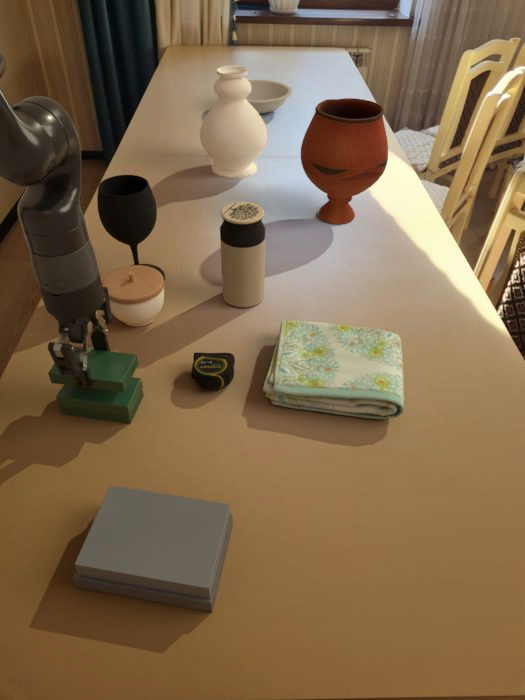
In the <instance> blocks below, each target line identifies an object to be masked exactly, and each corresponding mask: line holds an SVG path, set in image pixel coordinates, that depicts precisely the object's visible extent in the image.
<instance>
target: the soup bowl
mask: <svg viewBox="0 0 525 700" xmlns="http://www.w3.org/2000/svg"><path fill="white" fill-rule="evenodd" d="M247 80H248V81H249V82H250V84H251V92H250V93H249V95H248V96H247V97H246V98H245V99H246V100H247V101H248V102H249V103H250V104H251V105H252V106H253V107H254V108H255V109H256V111H257V112H258V113H259V114H266V113H271V112H273V111H275V110H277V109H278V108H280V107H281V106H282V105H283V104H284V103H285V101H286V100H287V99H288V98H289V97H291V96H292V94H293V88H291V87H290V86H289V85H288V84H285V83H282V82H279V81H274V80H268V79H247Z"/></svg>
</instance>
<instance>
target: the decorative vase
mask: <svg viewBox="0 0 525 700" xmlns="http://www.w3.org/2000/svg"><path fill="white" fill-rule="evenodd" d="M216 74H217V76H219V77H218V78H217V79H216V80H215V82H214V84H213V91H214V93H215V94H216V96H217V97H218V98H219V100H218V101H217V102H216V103H214V105H213V106H212V107H211V108H210V109H209V111H208V112H207V114H206V115H205V117H204V119H203V120H202V123H201V126H200V130H199V140H200V143H201V146H202V148H203V150H205V152H206V153H207V154H208V156H209V157H210V158H211V159H212V160H213V161H214V162H213V163H212V164H211V172H212V173H213V174H215V175H216V176H218V177H222V178H225V179H243V178H248V177H250V176H252V175H254V174H255V173H257V171H258V165H257V163H256V162H255V160H256V159H257V158H258V156H259V155H260V154H261V153H262V152H263V150H264V149H265V147H266V144H267V142H268V128H267V126H266V123H265V121H264V119H263V118H262V116H261V114H260V113H258V112H257V111H256V109H255V108H254V107H253V106H252V105H251V104H250V103H249V102H248V101H247V100H246V99H245V98H246V97H247V96H248V95H249V93H250V92H251V84H250V82H249V81H248V80H249V79H247V78H246V77H245V76H247V75H248V68H246V67H244V66H241V65H224V66H220V67H218V68H216Z"/></svg>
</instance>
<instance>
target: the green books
mask: <svg viewBox="0 0 525 700" xmlns="http://www.w3.org/2000/svg"><path fill="white" fill-rule="evenodd" d="M143 384H144V383H143V379H142V378H141V377H133V376H132V378H131V380H130V382H129V384H128V386H127V388H126V390H125V392H116V391H108V390H101V389H93V388H84V387H77V386H70V385H63V384H62V387H61V389H60V390H59V391H58V393H57V394H56V396H55V398H56V400H57V404H58V409H59V411H60V414H61V415H65V416H71V417H79V418H85V419H93V420H98V421H99V420H100V421H106V422H112V423H113V422H114V423H118V424H119V423H121V424H128V425H131V424H132V422H133V420H134V418H135V415H136V414H137V412H138V410H139V407H140V404H141V403H142V401H143V398H144V396H145V394H144V385H143Z"/></svg>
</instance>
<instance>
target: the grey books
mask: <svg viewBox="0 0 525 700" xmlns="http://www.w3.org/2000/svg"><path fill="white" fill-rule="evenodd" d="M233 517H234V516H233V514H232V513H231V504H230V503H226V502H225V503H224V502H218V501H212V500H206V499H200V498H193V497H187V496H182V495H181V496H180V495H174V494H167V493H163V492H162V493H161V492H155V491H150V490H143V489H138V488H137V489H136V488H132V487H131V488H130V487H124V486H118V485H113V484H112V485H111V484H110V485H109V486H108V488H107V491H106V493H105V496H104V497H103V500H102V501H101V504H100V507H99V509H98V511H97V513H96V515H95V517H94V519H93V521H92V523H91V527H90V529H89V530H88V533H87V535H86V538H85V540H84V542H83V544H82V546H81V548H80V551H79V553H78V555H77V558H76V560H75V562H74V567H75V572H74V574H73V576H72V580H73V581H74V584H75V586H76V588H78V589H84V590H88V591H93V592H99V593H105V594H110V595H116V596H121V597H126V598H131V599H136V600H142V601H147V602H154V603H159V604H163V605H164V604H165V605H168V606H169V605H170V606H176V607H180V608H186V609H192V610H197V611H202V612H208V613H213V611H214V607H215V603H216V598H217V594H218V590H219V586H220V581H221V578H222V573H223V569H224V565H225V561H226V557H227V552H228V547H229V543H230V539H231V534H232V530H233V528H234V527H233V526H234V519H233Z"/></svg>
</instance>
